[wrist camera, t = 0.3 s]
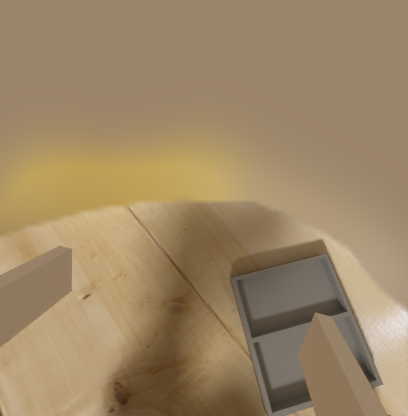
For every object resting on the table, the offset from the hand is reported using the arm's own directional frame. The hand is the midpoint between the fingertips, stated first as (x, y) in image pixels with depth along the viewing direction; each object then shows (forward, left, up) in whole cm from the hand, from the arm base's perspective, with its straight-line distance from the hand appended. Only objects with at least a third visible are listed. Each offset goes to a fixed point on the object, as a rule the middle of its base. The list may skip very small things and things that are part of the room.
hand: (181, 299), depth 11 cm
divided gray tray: (-12, -18, -35) cm, 41 cm away
